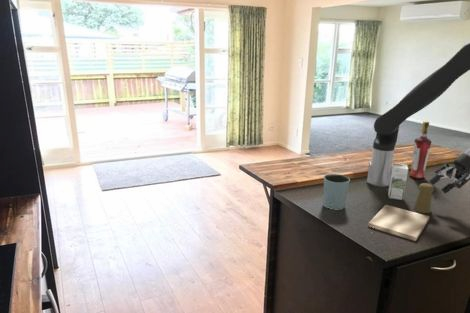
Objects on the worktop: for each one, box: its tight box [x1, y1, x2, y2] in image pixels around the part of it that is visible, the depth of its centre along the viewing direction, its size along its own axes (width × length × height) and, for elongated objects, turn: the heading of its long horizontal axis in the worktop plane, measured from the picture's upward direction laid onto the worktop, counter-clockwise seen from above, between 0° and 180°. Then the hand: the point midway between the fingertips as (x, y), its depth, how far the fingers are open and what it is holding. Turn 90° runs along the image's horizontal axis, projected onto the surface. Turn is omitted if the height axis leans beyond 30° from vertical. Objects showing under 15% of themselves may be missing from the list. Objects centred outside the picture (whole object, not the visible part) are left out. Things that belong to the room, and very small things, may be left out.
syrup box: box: [387, 163, 409, 201], centre depth 155 cm, size 6×6×14 cm
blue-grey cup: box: [322, 173, 351, 210], centre depth 146 cm, size 10×10×12 cm
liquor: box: [409, 121, 432, 180], centre depth 177 cm, size 7×7×28 cm
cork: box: [413, 182, 435, 214], centre depth 144 cm, size 6×6×11 cm
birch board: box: [367, 204, 430, 242], centre depth 134 cm, size 16×20×2 cm
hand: (436, 187), depth 142 cm, fingers open, 8 cm apart
